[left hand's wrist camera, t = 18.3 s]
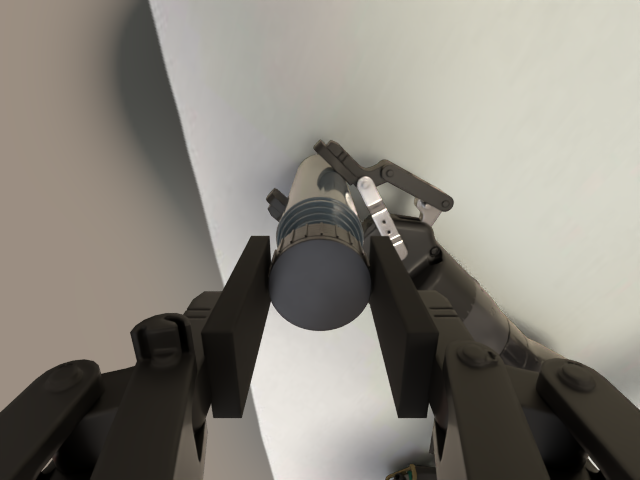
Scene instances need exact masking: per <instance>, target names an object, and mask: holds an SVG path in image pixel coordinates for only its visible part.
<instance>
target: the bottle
mask: <svg viewBox="0 0 640 480" xmlns="http://www.w3.org/2000/svg"><path fill="white" fill-rule="evenodd" d="M321 222H323V224H330V225H334V226H335V224H336V225H337V227H340V228H342V229H344V230H346V231H347V232H348V231H350V233H351V235H353V236H354V237H355V238H356V239H357V241H360V243H361V246H362V247H363V242H364V233H363V228H362V225H361V222H360V219H359V216H358V213H357V210H356V207H355V204H354V201H353V198H352V195H351V193H350V190H349V187H348V184H347V182H346V181H345V180H344V179H343V177H342V176H341V175H339V174H338V173H337V172H336V171H335V170H334V169H333V168H332V167H331V166H330V165H329V164H328V163H327V162H326V161H325V160H324V159H323V158H322V157H321V156H320V155H319V154H316V155H312V156H310V157H308V158H306V159H305V160H304V161H303V162H302V163H301V164H300V166H299V167H298V170H297V173H296V175H295V178H294V181H293V184H292V187H291V190H290V193H289V196H288V198H287V201H286V204H285V207H284V210H283V213H282V216H281V219H280V222H279V224H278V228H277V233H276V242H277V248H278V246H279V245H280V243H281V240H282V238H283V239H284V238H285V237H286V236H287V235H288V234H290V233H291V232H292V230H293V229H294V230H296V229H298V228H300V227H303V226H306V224H308V225H309V224H319V223H321Z"/></svg>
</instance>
